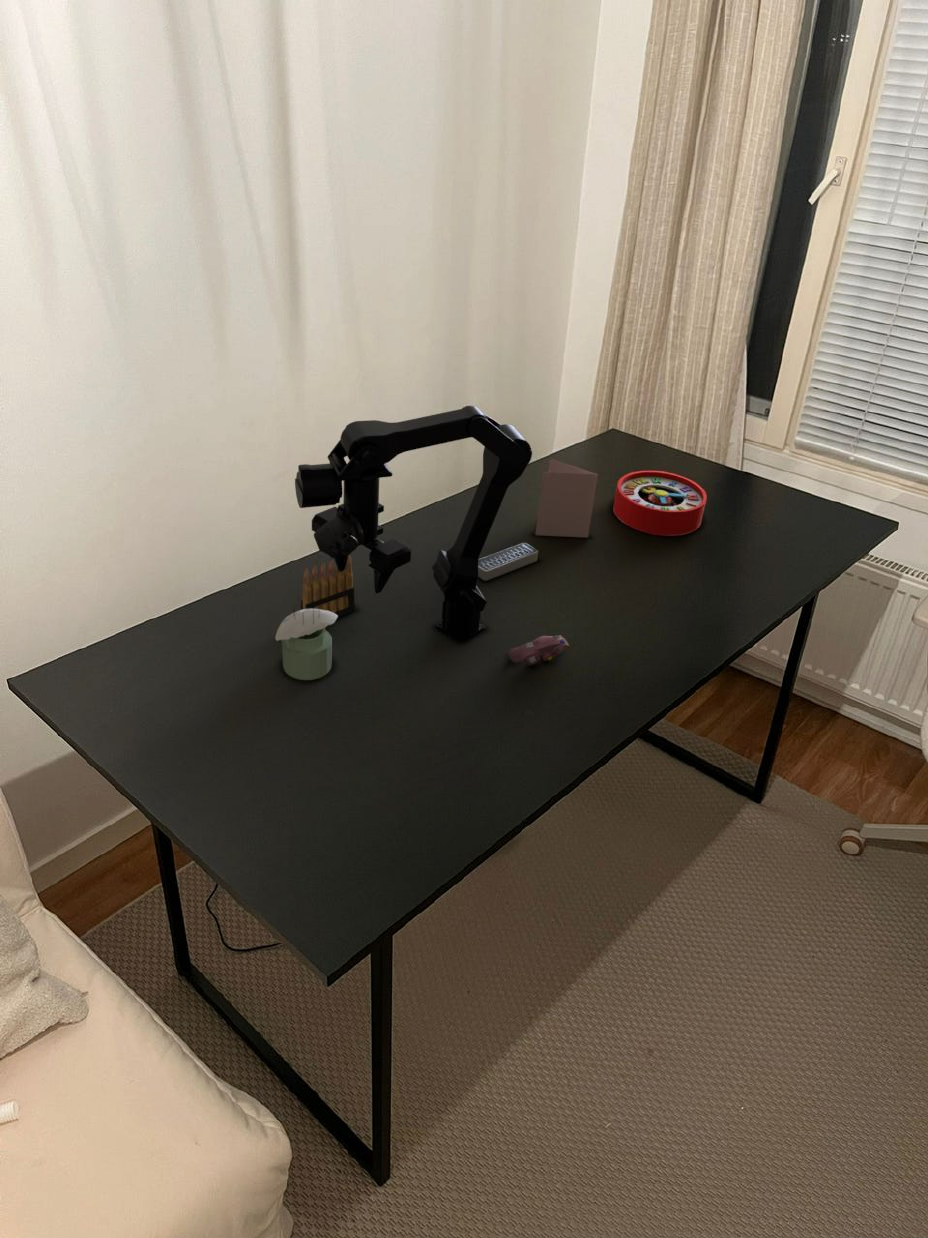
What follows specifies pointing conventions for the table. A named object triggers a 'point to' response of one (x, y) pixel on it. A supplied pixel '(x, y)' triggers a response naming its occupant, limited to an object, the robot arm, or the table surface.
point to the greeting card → (566, 501)
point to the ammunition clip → (329, 589)
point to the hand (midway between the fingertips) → (359, 581)
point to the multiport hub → (506, 561)
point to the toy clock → (659, 503)
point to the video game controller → (539, 649)
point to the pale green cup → (308, 655)
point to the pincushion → (304, 623)
